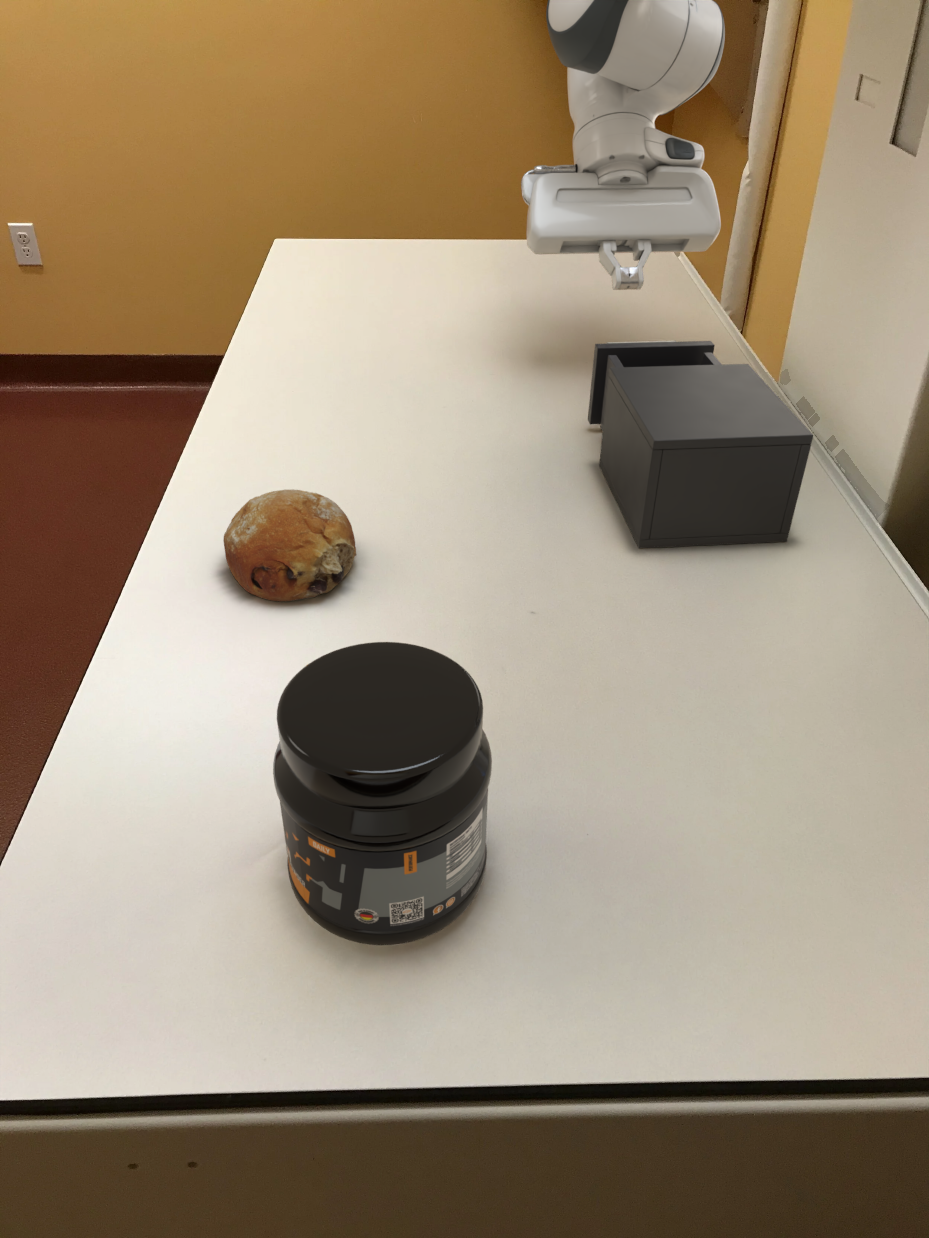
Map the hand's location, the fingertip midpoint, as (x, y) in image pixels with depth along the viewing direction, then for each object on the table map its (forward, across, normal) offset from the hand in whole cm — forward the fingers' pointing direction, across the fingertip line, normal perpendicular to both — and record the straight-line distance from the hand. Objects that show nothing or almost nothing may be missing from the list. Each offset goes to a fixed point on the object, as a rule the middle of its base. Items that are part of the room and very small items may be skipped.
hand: (628, 287), depth 100 cm
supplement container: (+53, -28, -38) cm, 71 cm away
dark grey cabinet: (+26, 0, -12) cm, 29 cm away
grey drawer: (+18, 0, -4) cm, 18 cm away
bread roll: (+32, -34, -17) cm, 50 cm away
